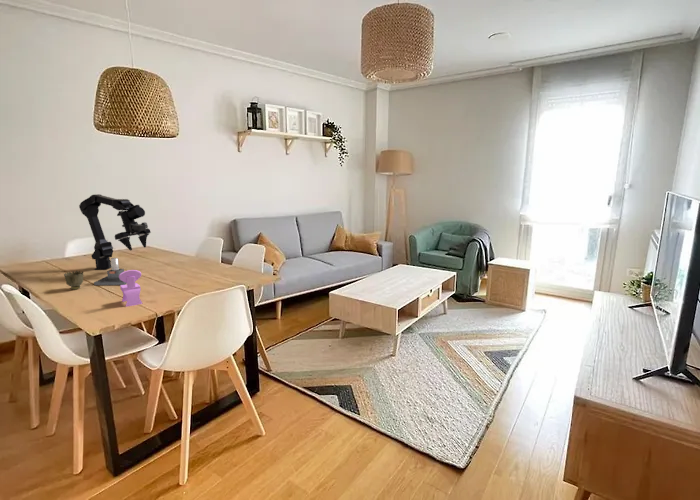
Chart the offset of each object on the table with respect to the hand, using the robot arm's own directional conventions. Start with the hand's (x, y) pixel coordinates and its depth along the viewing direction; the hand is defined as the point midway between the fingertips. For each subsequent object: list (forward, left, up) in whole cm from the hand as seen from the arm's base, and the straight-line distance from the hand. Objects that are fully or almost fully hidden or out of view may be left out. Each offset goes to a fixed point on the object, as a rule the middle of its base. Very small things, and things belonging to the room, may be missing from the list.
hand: (138, 248), depth 203 cm
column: (-4, -17, -14) cm, 22 cm away
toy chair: (+19, -50, -14) cm, 55 cm away
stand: (-4, -17, -14) cm, 22 cm away
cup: (-16, -30, -14) cm, 37 cm away
